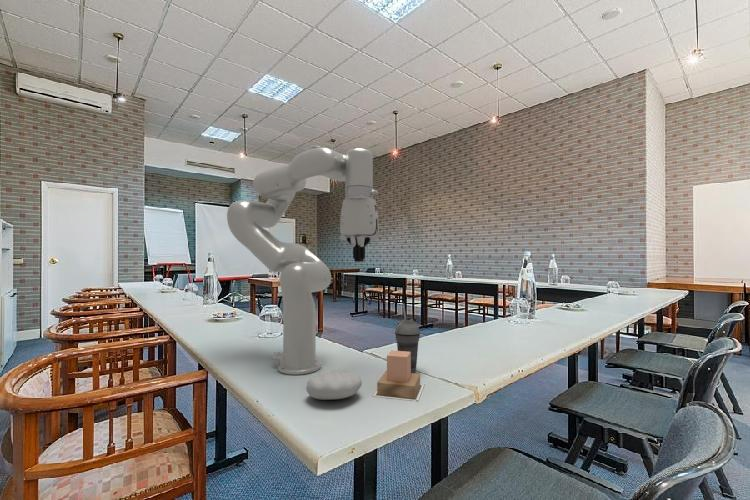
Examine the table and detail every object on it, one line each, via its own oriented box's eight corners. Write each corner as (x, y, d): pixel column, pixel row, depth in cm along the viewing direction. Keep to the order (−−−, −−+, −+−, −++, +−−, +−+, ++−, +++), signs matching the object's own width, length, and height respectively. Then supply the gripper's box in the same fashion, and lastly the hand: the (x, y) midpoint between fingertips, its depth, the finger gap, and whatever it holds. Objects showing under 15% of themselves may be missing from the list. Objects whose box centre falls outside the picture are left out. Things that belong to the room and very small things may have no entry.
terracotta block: (391, 373, 91) (391, 350, 91) (410, 375, 90) (410, 351, 90) (386, 380, 86) (386, 355, 86) (407, 382, 85) (407, 357, 85)
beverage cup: (419, 378, 97) (419, 305, 98) (393, 376, 99) (393, 304, 99) (421, 370, 104) (421, 302, 105) (396, 368, 106) (396, 301, 106)
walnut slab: (377, 395, 85) (377, 382, 85) (386, 382, 93) (386, 370, 93) (414, 399, 82) (414, 386, 82) (420, 385, 91) (420, 373, 91)
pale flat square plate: (372, 398, 84) (372, 396, 84) (383, 382, 95) (383, 380, 95) (418, 403, 81) (418, 401, 81) (424, 386, 92) (424, 384, 92)
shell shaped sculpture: (355, 413, 76) (355, 383, 76) (298, 409, 78) (298, 380, 78) (366, 391, 89) (366, 365, 89) (317, 387, 91) (317, 362, 91)
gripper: (388, 196, 99) (388, 261, 99) (338, 198, 103) (338, 261, 103) (382, 191, 92) (382, 262, 92) (328, 194, 96) (328, 261, 96)
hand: (359, 261), depth 98 cm, fingers closed
